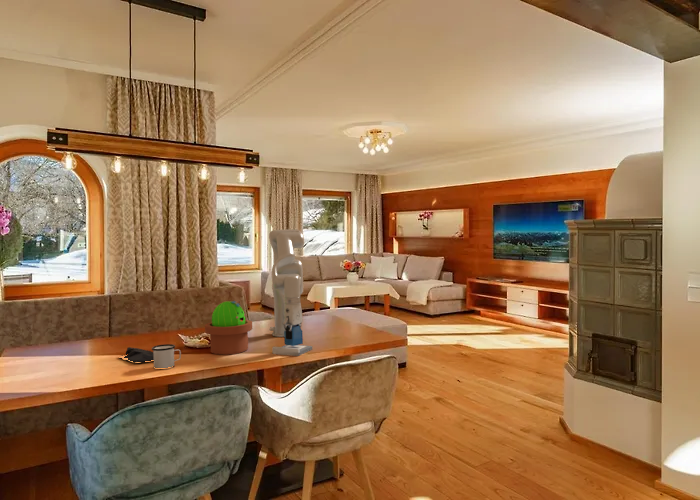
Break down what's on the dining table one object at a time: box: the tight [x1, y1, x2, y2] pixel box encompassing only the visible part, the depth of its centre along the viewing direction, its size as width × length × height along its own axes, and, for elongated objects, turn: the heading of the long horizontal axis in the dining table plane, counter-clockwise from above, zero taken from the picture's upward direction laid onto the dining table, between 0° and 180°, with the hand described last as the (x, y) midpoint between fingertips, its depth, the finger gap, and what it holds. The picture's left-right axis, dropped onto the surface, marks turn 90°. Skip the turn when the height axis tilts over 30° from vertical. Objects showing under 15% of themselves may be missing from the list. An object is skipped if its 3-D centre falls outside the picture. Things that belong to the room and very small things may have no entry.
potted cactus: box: [204, 300, 253, 356], centre depth 232 cm, size 22×22×25 cm
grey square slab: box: [271, 344, 313, 357], centre depth 228 cm, size 14×14×3 cm
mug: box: [151, 343, 182, 368], centre depth 205 cm, size 12×10×9 cm
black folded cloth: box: [121, 346, 154, 362], centre depth 220 cm, size 15×22×5 cm
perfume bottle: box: [283, 325, 304, 346], centre depth 228 cm, size 6×6×12 cm
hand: (293, 337), depth 228 cm, fingers closed on perfume bottle, 7 cm apart
